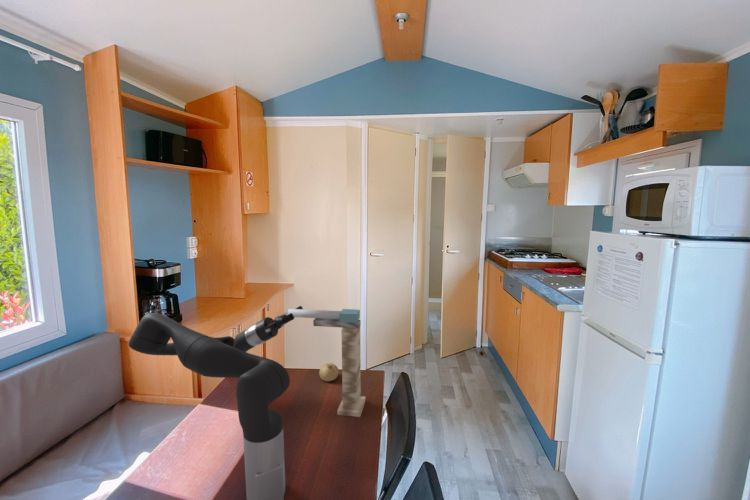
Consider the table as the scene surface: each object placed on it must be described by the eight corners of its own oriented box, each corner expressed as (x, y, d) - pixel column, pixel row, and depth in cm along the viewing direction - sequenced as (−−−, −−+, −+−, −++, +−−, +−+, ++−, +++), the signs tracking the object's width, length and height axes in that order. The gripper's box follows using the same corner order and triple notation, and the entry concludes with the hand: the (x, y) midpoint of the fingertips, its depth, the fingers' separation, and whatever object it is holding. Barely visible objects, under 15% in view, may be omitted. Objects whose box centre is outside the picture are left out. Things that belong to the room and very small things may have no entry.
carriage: (359, 318, 117) (359, 309, 117) (356, 322, 112) (356, 314, 112) (292, 314, 121) (291, 306, 121) (286, 319, 116) (286, 310, 116)
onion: (315, 379, 139) (314, 363, 138) (329, 372, 145) (329, 356, 144) (328, 386, 134) (328, 369, 133) (342, 378, 140) (342, 362, 139)
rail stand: (365, 400, 124) (365, 316, 120) (360, 417, 114) (359, 326, 110) (321, 396, 126) (319, 314, 122) (312, 412, 116) (309, 323, 112)
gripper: (245, 330, 114) (284, 308, 111) (265, 316, 128) (299, 297, 125) (257, 348, 114) (295, 328, 111) (275, 333, 128) (310, 314, 125)
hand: (297, 311), depth 118 cm, fingers open, 8 cm apart
